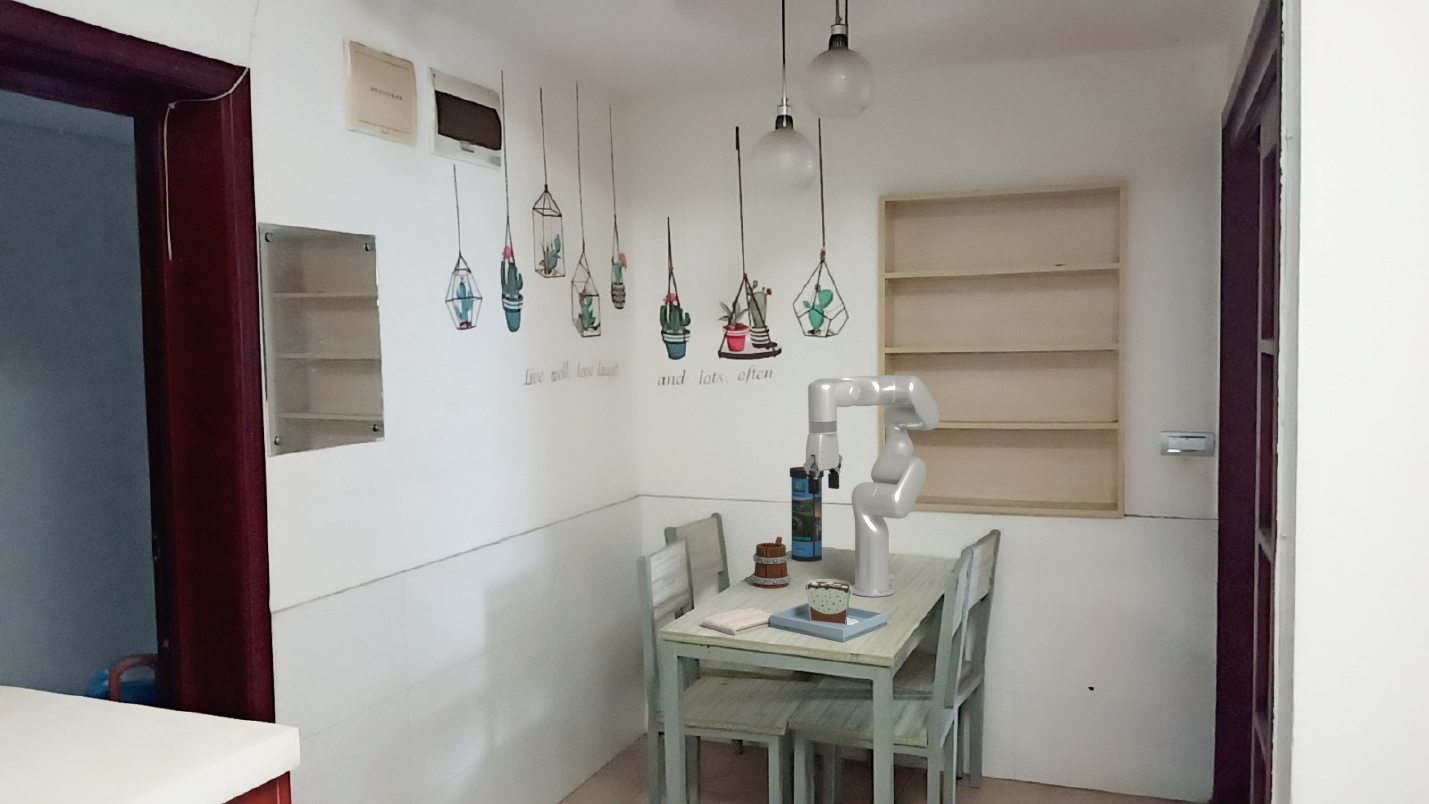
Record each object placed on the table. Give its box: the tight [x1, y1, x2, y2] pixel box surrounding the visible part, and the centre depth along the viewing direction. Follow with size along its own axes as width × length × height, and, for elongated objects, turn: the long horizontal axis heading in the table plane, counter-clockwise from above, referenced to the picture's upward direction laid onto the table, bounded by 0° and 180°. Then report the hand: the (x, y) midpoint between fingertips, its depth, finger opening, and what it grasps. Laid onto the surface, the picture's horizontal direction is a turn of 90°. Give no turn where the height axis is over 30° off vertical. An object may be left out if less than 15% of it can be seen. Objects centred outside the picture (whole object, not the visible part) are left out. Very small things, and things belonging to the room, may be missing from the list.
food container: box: [804, 578, 853, 625], centre depth 269 cm, size 12×6×10 cm, turn 66°
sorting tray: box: [769, 602, 888, 643], centre depth 268 cm, size 20×22×3 cm
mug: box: [751, 536, 792, 590], centre depth 315 cm, size 12×14×15 cm
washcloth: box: [701, 607, 773, 636], centre depth 269 cm, size 12×18×3 cm, turn 133°
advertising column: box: [789, 466, 825, 563], centre depth 351 cm, size 11×11×30 cm
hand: (824, 491), depth 284 cm, fingers open, 9 cm apart
